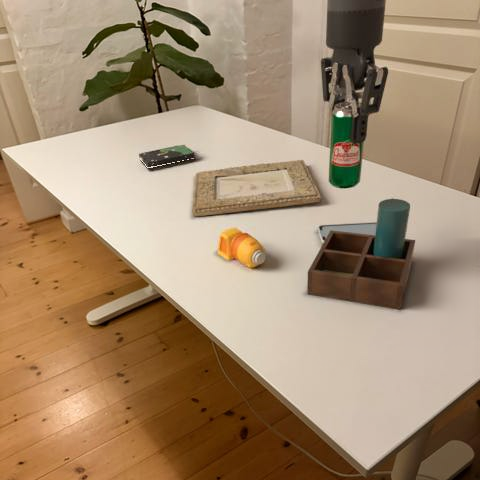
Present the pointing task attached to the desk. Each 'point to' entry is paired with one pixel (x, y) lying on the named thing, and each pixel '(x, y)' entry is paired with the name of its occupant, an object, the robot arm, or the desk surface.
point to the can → (391, 228)
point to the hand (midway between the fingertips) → (347, 137)
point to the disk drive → (167, 157)
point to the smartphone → (347, 229)
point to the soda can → (344, 149)
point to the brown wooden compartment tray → (359, 271)
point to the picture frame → (253, 188)
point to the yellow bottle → (241, 247)
